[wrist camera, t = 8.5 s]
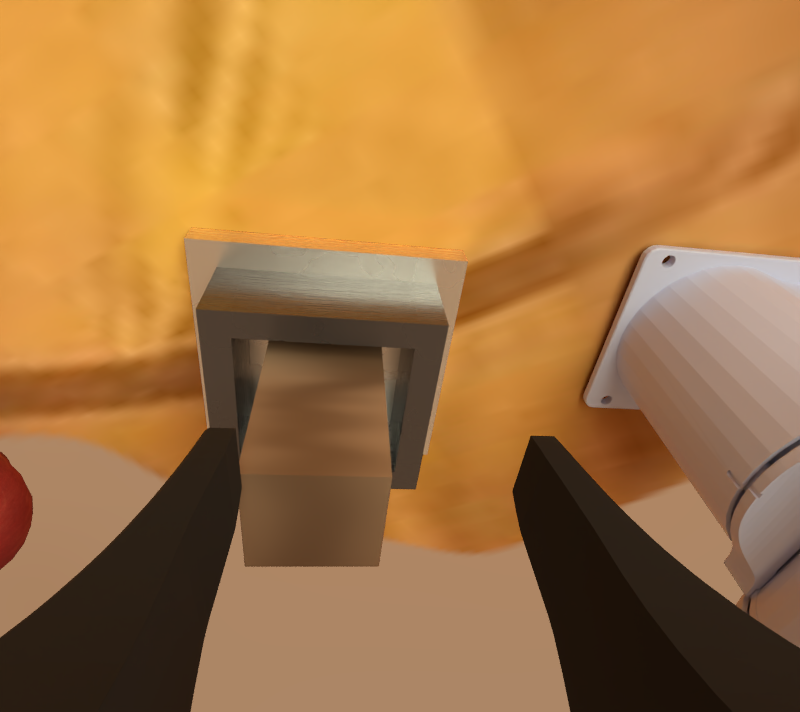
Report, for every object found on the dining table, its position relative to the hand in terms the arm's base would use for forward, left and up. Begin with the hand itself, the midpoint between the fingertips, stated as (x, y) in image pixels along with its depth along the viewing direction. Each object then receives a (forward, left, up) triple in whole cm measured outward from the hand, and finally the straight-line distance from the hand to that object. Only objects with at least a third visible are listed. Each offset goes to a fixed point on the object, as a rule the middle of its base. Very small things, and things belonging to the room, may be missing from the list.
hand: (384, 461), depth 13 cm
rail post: (+2, +3, -8) cm, 9 cm away
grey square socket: (+2, +3, -9) cm, 10 cm away
